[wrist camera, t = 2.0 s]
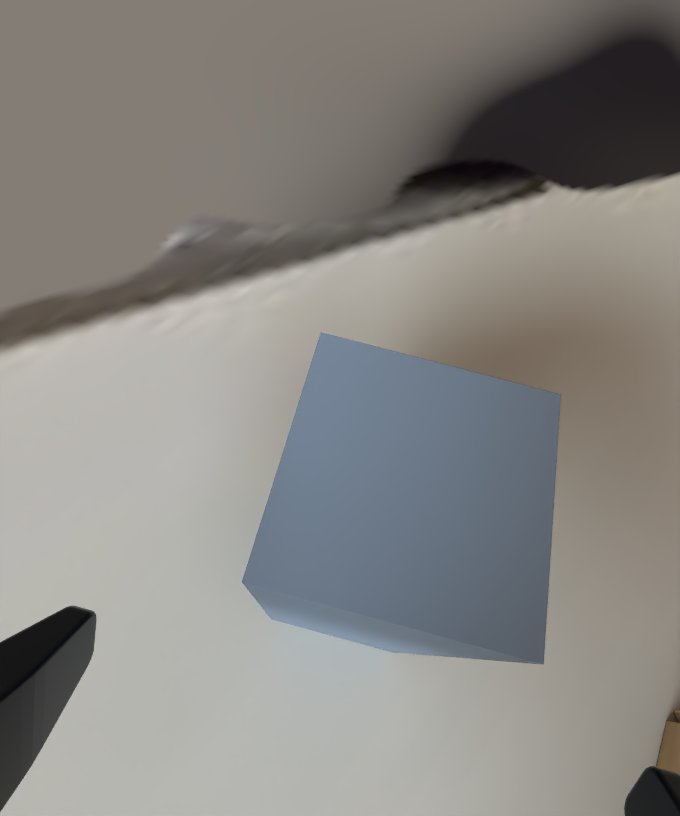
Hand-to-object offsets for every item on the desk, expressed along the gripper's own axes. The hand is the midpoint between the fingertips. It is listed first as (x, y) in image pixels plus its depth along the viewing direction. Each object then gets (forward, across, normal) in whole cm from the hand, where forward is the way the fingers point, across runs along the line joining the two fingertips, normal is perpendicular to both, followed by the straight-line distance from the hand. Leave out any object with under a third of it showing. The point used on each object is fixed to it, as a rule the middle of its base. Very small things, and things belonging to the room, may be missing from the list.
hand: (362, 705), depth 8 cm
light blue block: (+10, 0, +5) cm, 11 cm away
